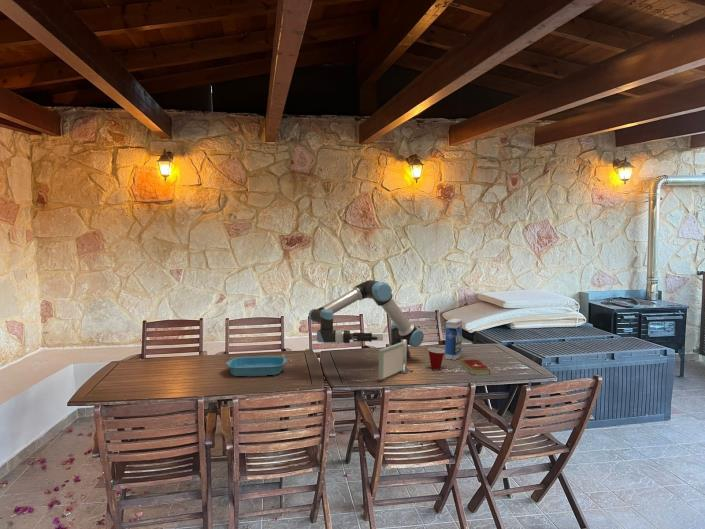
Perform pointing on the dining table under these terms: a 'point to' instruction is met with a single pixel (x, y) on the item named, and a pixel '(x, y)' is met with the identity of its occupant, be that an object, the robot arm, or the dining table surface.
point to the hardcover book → (474, 366)
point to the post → (405, 357)
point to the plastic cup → (436, 357)
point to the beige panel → (390, 360)
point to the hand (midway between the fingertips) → (382, 337)
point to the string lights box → (453, 339)
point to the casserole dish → (256, 365)
